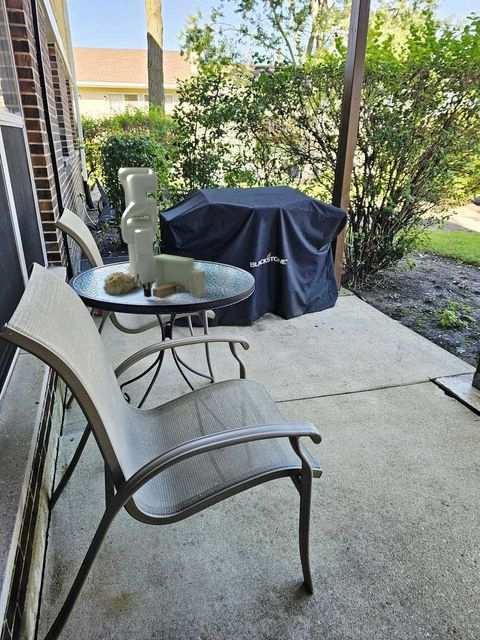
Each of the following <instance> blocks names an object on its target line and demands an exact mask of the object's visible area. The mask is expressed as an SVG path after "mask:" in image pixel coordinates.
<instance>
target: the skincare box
mask: <svg viewBox="0 0 480 640" xmlns="http://www.w3.org/2000/svg"><path fill="white" fill-rule="evenodd" d="M190 286H191V291H190V296H192V297H195V298H199V299H200V298H204V297H206V296H207V292H206V274H205V270H201V269H200V270H199V269H194V270H192V271H190Z"/></svg>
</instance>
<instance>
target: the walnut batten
mask: <svg viewBox="0 0 480 640" xmlns="http://www.w3.org/2000/svg"><path fill="white" fill-rule="evenodd" d="M177 286H180V283H177V282H171V283H169V284H166V285H163V286H160V287H157V288H155V287H154V288H152V296H153V297H156V298H161V297H165V296H166V295H170V294H172V293H176V292H177V290H176V287H177Z"/></svg>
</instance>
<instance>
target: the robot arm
mask: <svg viewBox="0 0 480 640" xmlns="http://www.w3.org/2000/svg"><path fill="white" fill-rule="evenodd" d="M117 175H118V179H119V181H120V184H121V186H122V187H123V190H124V196H125V197H124V200H125V201H124V202H125V210H124V212H123V213H122V216H121V218H120V226H121V228H120V229H121V237H122V240H123V242H124V243H125V244H127V249H128V258H129V259H128V260H129V265H128V266H127V267H126V269H125V270H127V271H128V273H127V275H131V276H135V282H136V283H138V286H137V287H140V288H142V289H143V296H144V298H151V297H152V296H153V294H152V289H153V288H152V287H153V285H154V284H155V281H156V278H157V273H156V265H155V261H154V258H153V256H155V255H154V247H153V245H154V244H153V241H154V239H155V235H156V234H158V230H159V221H158V206H157V205H158V204H157V201H156V199H155V198H153V197H147V193H149V194H153V193H156V192H157V191H158V190H159V181H158V176H157V175H156V172H155V169H153V168H151V167H122V168H120V169H119V170H118V171H117Z"/></svg>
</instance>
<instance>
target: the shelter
mask: <svg viewBox="0 0 480 640" xmlns="http://www.w3.org/2000/svg"><path fill="white" fill-rule="evenodd" d="M153 258H154V261H155V265H156V273H157V278H156V281H155V282H154V288H157V287H160V286H163V285H166V284H169V283H171V282H177V283H180V286H177V287H176V290H177V291H176V293H177V294H178V293H180V292H183V291H187V292H191V286H190V271H192V270H195V258H191V257H185V256H184V257H183V256H178V255H173V254H172V255H170V254H163V253H162V254H158V255H153Z"/></svg>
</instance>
